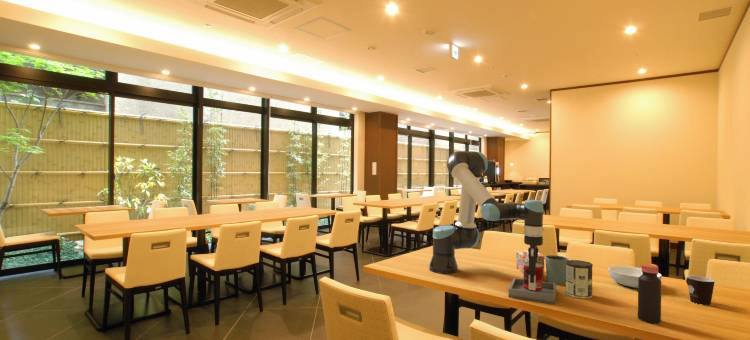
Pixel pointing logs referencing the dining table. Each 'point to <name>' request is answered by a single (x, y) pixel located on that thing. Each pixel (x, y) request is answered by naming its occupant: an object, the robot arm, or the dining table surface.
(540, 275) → the canned food
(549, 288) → the tray
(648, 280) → the bottle
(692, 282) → the coffee mug
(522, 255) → the white food box
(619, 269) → the serving bowl
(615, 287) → the dining table surface
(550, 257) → the grey cylinder
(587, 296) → the coffee can
